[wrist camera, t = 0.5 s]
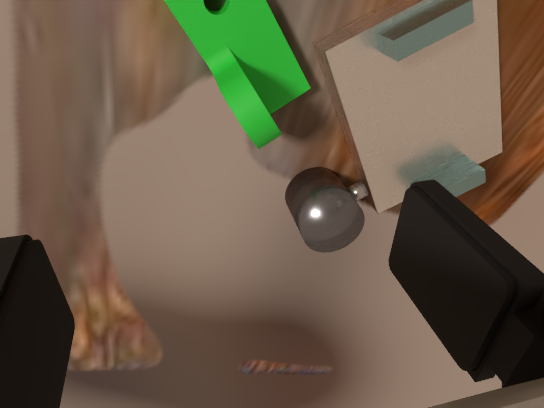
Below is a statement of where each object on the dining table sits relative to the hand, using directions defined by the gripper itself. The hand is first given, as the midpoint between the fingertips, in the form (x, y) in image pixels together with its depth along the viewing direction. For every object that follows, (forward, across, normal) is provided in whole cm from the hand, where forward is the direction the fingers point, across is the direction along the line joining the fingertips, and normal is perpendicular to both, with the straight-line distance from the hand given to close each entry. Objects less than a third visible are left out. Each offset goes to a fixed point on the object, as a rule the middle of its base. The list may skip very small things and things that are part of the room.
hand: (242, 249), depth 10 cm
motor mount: (+24, -17, +7) cm, 30 cm away
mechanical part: (+25, -4, 0) cm, 25 cm away
